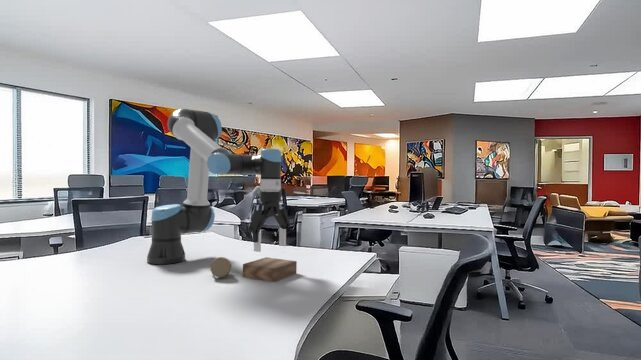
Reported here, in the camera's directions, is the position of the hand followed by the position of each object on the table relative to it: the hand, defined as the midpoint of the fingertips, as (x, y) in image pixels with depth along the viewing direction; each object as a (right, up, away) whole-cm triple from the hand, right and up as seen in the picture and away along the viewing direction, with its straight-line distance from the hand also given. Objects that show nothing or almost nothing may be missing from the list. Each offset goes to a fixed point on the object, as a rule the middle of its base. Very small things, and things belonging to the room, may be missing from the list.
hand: (270, 248), depth 144 cm
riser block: (0, -10, 0) cm, 10 cm away
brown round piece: (-19, -10, 0) cm, 22 cm away
